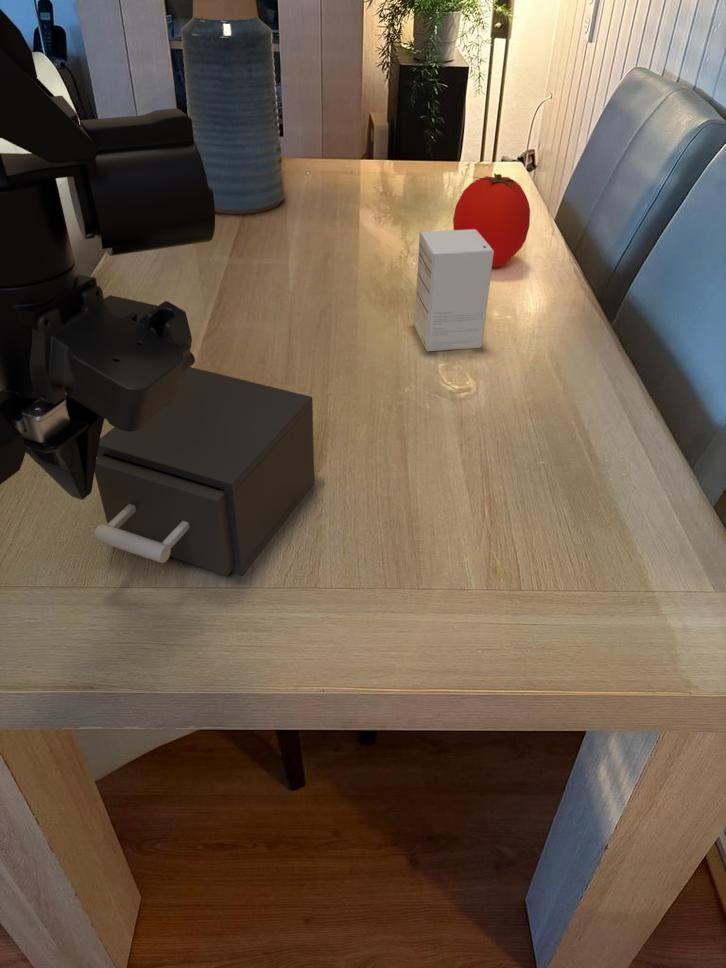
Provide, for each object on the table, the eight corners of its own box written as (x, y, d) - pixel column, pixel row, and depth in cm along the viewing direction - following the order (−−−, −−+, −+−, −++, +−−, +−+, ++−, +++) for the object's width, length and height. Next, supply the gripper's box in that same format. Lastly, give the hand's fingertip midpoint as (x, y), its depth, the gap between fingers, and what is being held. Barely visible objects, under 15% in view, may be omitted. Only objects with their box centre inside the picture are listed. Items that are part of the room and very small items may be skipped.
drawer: (198, 612, 56) (185, 535, 52) (77, 568, 60) (54, 493, 55) (297, 487, 69) (294, 416, 64) (192, 457, 72) (182, 387, 67)
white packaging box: (466, 322, 98) (477, 227, 91) (482, 349, 93) (496, 250, 85) (412, 325, 97) (418, 229, 90) (424, 352, 92) (433, 252, 84)
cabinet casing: (242, 576, 61) (232, 484, 55) (115, 534, 65) (93, 443, 59) (314, 483, 71) (312, 396, 65) (201, 450, 74) (189, 366, 69)
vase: (179, 196, 137) (153, -8, 117) (256, 182, 145) (244, -12, 125) (221, 222, 127) (200, 2, 107) (301, 205, 135) (296, -2, 115)
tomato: (496, 245, 121) (508, 159, 113) (539, 273, 112) (555, 182, 104) (433, 254, 117) (440, 166, 109) (472, 284, 108) (483, 191, 100)
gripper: (6, 380, 30) (87, 634, 40) (240, 234, 44) (258, 450, 53) (-187, 327, 33) (-69, 574, 43) (87, 206, 47) (130, 414, 57)
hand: (81, 495), depth 49 cm, fingers closed
